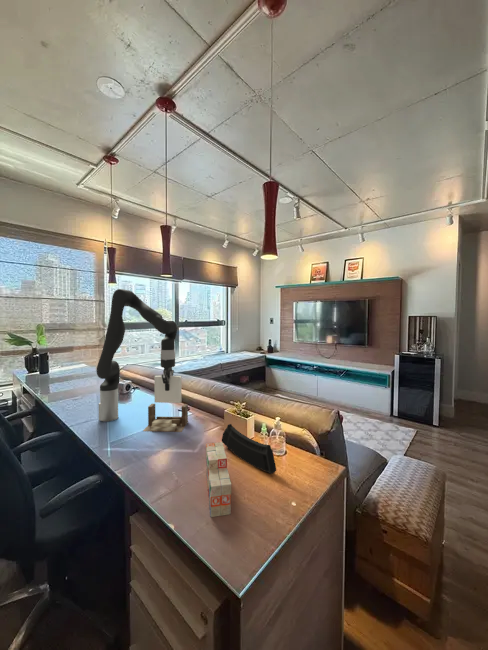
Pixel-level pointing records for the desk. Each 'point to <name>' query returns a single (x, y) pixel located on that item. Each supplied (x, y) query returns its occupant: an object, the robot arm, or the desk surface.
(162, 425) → the offcut upper
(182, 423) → the rack
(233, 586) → the desk surface
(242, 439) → the magazine
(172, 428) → the offcut lower
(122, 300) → the robot arm
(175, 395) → the white square panel
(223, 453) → the stack of blocks
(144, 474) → the desk surface
